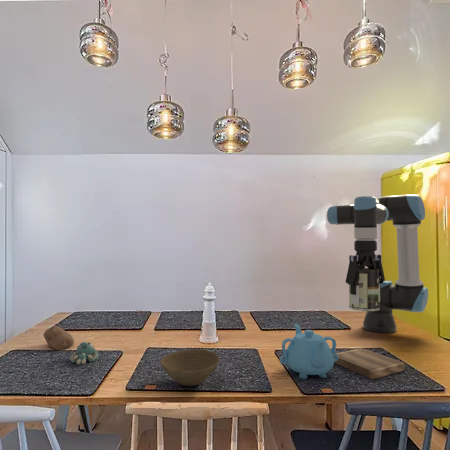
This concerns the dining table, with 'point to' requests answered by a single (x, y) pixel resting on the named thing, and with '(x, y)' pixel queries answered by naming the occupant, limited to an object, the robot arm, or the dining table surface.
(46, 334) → the stone
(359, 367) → the walnut board
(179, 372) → the bowl
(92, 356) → the stuffed animal
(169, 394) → the dining table surface
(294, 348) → the teapot
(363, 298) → the coffee can
